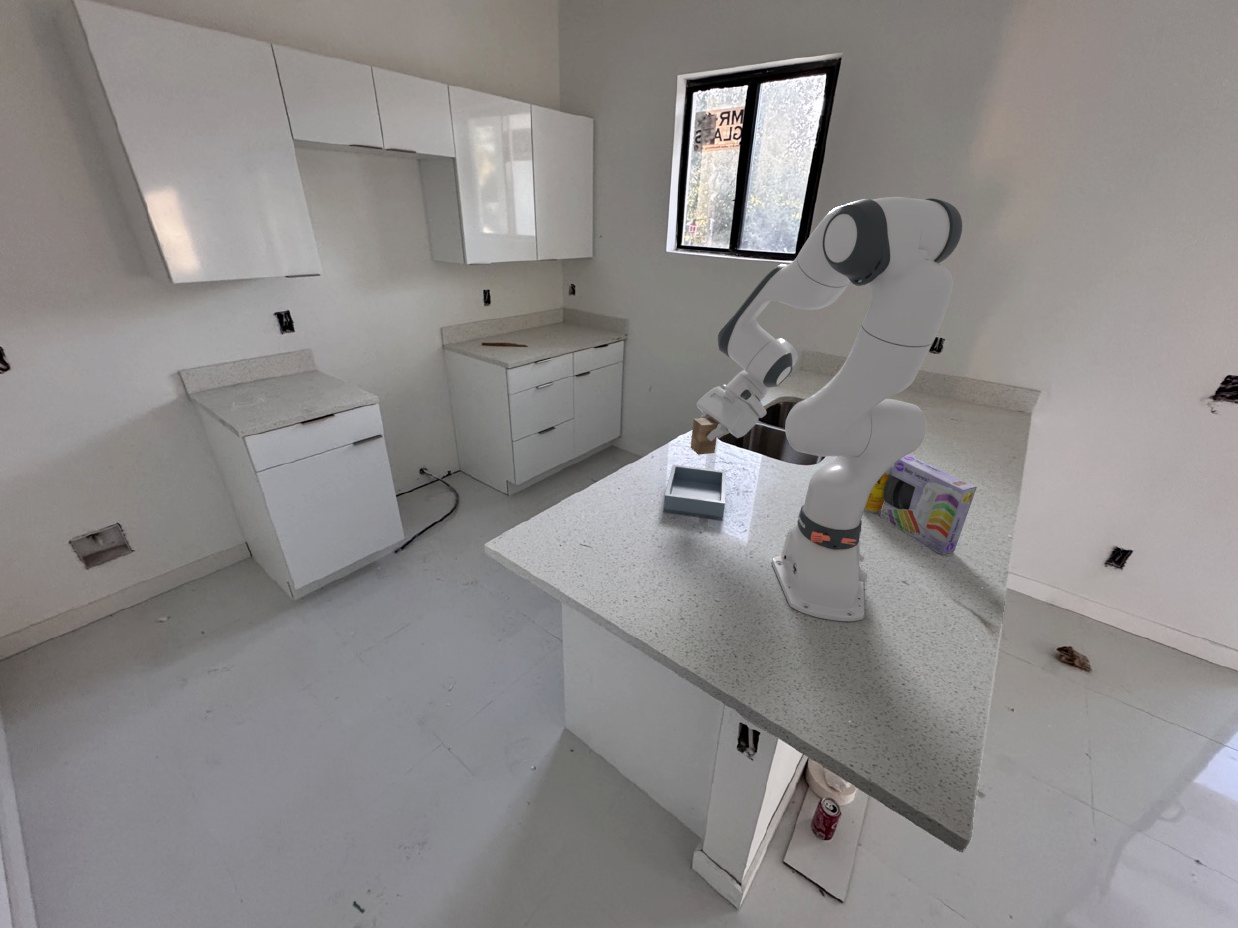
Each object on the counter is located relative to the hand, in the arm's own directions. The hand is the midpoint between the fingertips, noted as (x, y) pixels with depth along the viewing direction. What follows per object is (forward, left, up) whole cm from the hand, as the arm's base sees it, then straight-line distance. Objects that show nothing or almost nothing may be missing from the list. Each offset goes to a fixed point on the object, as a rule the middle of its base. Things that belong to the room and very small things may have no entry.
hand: (702, 434), depth 126 cm
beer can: (+8, -46, -19) cm, 51 cm away
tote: (0, 0, -19) cm, 19 cm away
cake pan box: (-2, -54, -19) cm, 58 cm away
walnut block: (0, -1, -5) cm, 5 cm away
